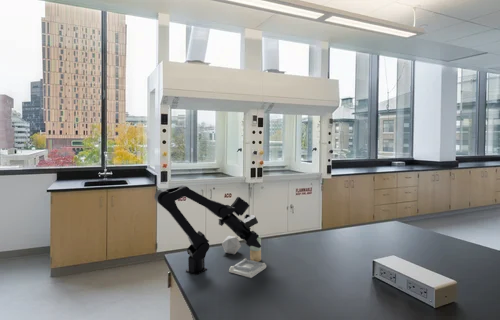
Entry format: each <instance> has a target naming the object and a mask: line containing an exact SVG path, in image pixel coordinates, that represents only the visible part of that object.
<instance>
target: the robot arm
mask: <svg viewBox="0 0 500 320" xmlns="http://www.w3.org/2000/svg"><path fill="white" fill-rule="evenodd" d="M153 197H154V200H155V201H156V202H157V203H158V205H160V206H161V207H162V208H163V209H165V210H166V211H167V212H168V213H169V214H170V216H171V217H172V218H173V219H174V221H175V222H176V223H177V225H178V226H179V227H180V228H181V230H182V231H183V232H184V233H185V235H186V236H187V239H188V241H189V243H190V245H189V246H188V247H187V248H186V252H187V254H188V255H189V256H188V258H187V259H188V266H187V267H188V268H187V269H185V272H187V273H190V274H194V275H199V274H201V273H203V272H205V271H206V270H208V268H207V267H205V259H206V255H207V252H209V250H210V243H209V242H210V240H209V239H207V237H206V236H205V234H204V233H203V232H201V231H200V230H198V231H196V230H195V228H194V227H193V226H192V225H191V223H190V222H189V220H188V219H187V217H185V215H184V214H183V213H182V211H181V210H180V209H179V208H178V205H177V203H176V201H178V200H179V199H181V198H187V199H188V200H191V201H193V202H194V203H196V204H198V205H201V206H203V207H204V208H205V209H207V210H208V211H209V212H210V213H211V214H213V215H214V216H216V217H218V219H217V220H218V225H219V226H222V227H223V226H224V225H226V226H227V227H228V228H229V229H230V230H231V231H232V232H233V233H234V234H235V235H236V237H239V238H240V239H241V240H243V243H244V244H246V246H247V247H249V248H250V246H254V247H258V248H260V247H261V248H262V244H261V245H260V244H259V242H258V241H257V238H258V237H259V236H260V235H259V234H258V233H257V232H256V231H254V230H252V229H251V227H253V226H255V225H257V224H258V223H259V222H258V219H257V217H256V215H254V214H249V213H246V211H247V210H248V209H249V208H250V204H249V203H248V202H247V201H245V200H244V199H242V197H239V196H237V197H236V198H235V200H234V201H233V202H232V203H231V205H229V204H224V203H221V202H219V201H215V200H212V199H209V198H207V197H205V196H204V195H202V194H201V193H198V192H196V191H195V190H192V189H191V188H189V187H188V186H186V185H183V184H182V185H180V186H175V187H172V188H171V187H170V188H168V189H158V190H157V191H156V192H155V194H154V196H153ZM243 215H244V218H243V219H241V218H239V217H242V216H243Z"/></svg>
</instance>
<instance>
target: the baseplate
mask: <svg viewBox="0 0 500 320" xmlns="http://www.w3.org/2000/svg"><path fill="white" fill-rule="evenodd" d="M266 268H267V264H266V263H265V262H261V261H259V262H256V261H252V260H250V259H247V258H243V259H242V260H241V261H239V262H237V263H236V264H234V265H231V266H230V267H229V269H228V272H229V273H232V274H236V275H239V276H242V277H246V278H250V279H252V278H253V277H255V276H256V275H257V274H259V273H261V272H262V271H263V270H265V269H266Z"/></svg>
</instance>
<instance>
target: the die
mask: <svg viewBox="0 0 500 320" xmlns="http://www.w3.org/2000/svg"><path fill="white" fill-rule="evenodd" d="M238 237H239V236H234V235H233V236H232V235H227V236H226V237H225V238H224V239H223V241H222V242H221V246H222V247H223V251H224V253H225V254H231V255H236V254H237V252H238V251H239V249H240V248H241V247H242V245H241V242H240V240H239V238H238Z"/></svg>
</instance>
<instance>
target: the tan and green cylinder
mask: <svg viewBox="0 0 500 320" xmlns="http://www.w3.org/2000/svg"><path fill="white" fill-rule="evenodd" d="M257 241H258V242H259V244H260V245H261V247H260V248H258V247H254V246H250V247H249V260H252V261H256V262H261V261H262V237H261V235H259V237H258V238H257Z"/></svg>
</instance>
